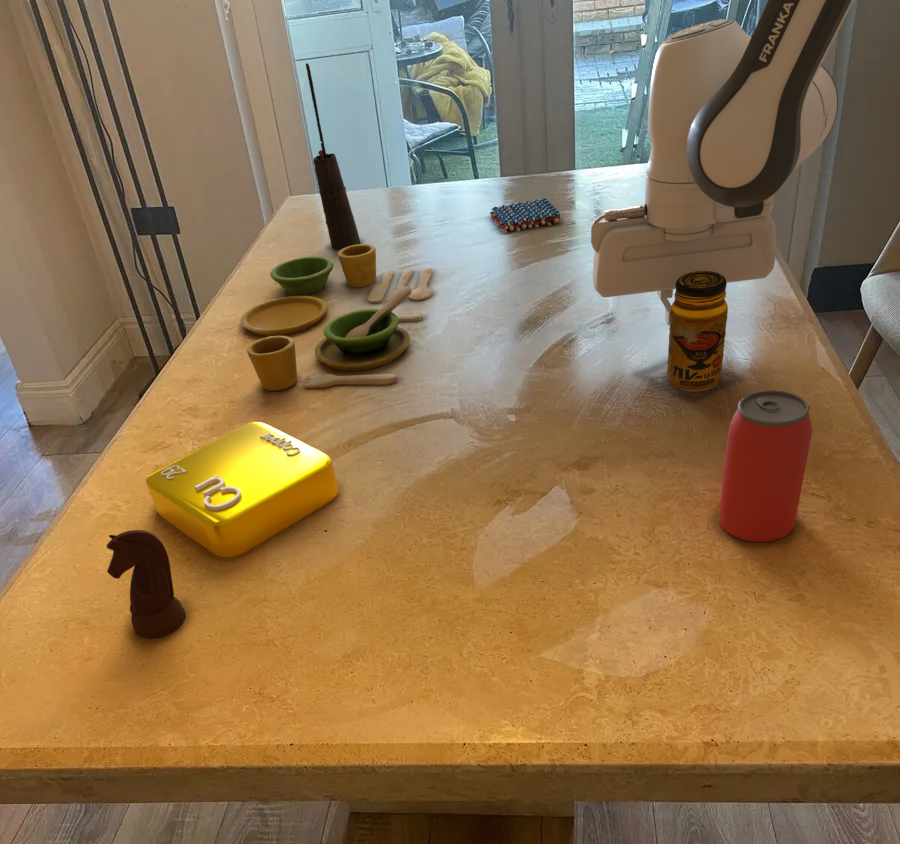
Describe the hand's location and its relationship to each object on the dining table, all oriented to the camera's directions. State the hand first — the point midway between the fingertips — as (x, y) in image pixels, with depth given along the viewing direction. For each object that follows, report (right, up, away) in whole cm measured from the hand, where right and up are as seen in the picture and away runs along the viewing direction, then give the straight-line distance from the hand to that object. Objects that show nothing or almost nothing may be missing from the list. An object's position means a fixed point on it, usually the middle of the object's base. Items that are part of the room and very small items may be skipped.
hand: (678, 322), depth 102 cm
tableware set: (-45, +6, +21) cm, 50 cm away
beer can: (0, -27, -24) cm, 36 cm away
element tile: (-49, -23, -12) cm, 55 cm away
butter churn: (-46, +29, +48) cm, 73 cm away
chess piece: (-53, -36, -25) cm, 69 cm away
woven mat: (-14, +33, +47) cm, 59 cm away
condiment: (0, -8, -2) cm, 8 cm away
